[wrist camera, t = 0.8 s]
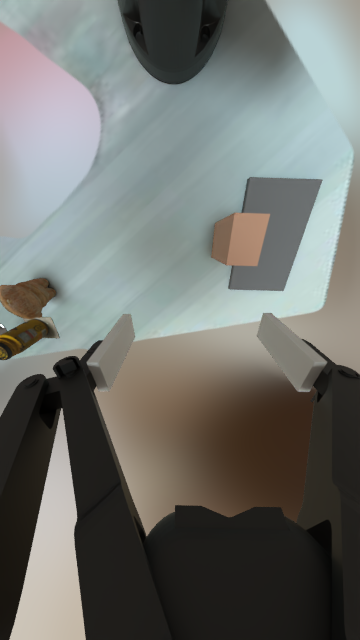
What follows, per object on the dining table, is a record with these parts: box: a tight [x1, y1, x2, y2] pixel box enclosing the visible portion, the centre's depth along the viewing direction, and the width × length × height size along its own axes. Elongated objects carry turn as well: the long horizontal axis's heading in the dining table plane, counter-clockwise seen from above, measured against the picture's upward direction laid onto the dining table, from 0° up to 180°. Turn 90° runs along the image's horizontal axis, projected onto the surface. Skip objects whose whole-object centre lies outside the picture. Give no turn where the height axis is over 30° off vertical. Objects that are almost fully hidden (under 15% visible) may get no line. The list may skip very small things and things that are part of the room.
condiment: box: [0, 317, 59, 360], centre depth 41 cm, size 7×8×12 cm
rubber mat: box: [229, 177, 322, 291], centre depth 35 cm, size 22×14×1 cm, turn 178°
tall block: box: [211, 213, 270, 266], centre depth 29 cm, size 7×5×14 cm
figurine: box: [0, 278, 56, 319], centre depth 34 cm, size 8×8×15 cm
